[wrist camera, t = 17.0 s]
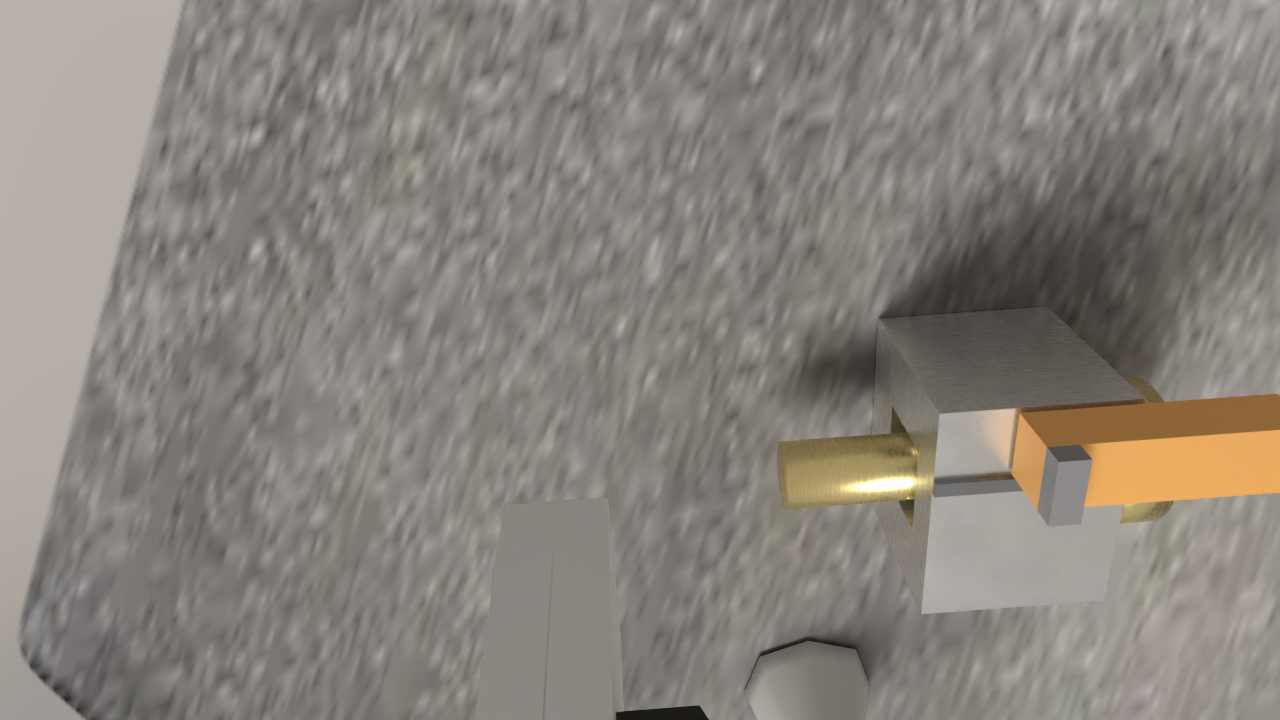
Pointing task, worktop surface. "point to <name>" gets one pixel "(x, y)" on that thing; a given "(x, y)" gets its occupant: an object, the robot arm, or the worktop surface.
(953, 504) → the block
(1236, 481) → the bar
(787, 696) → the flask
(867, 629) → the worktop surface
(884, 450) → the pin
